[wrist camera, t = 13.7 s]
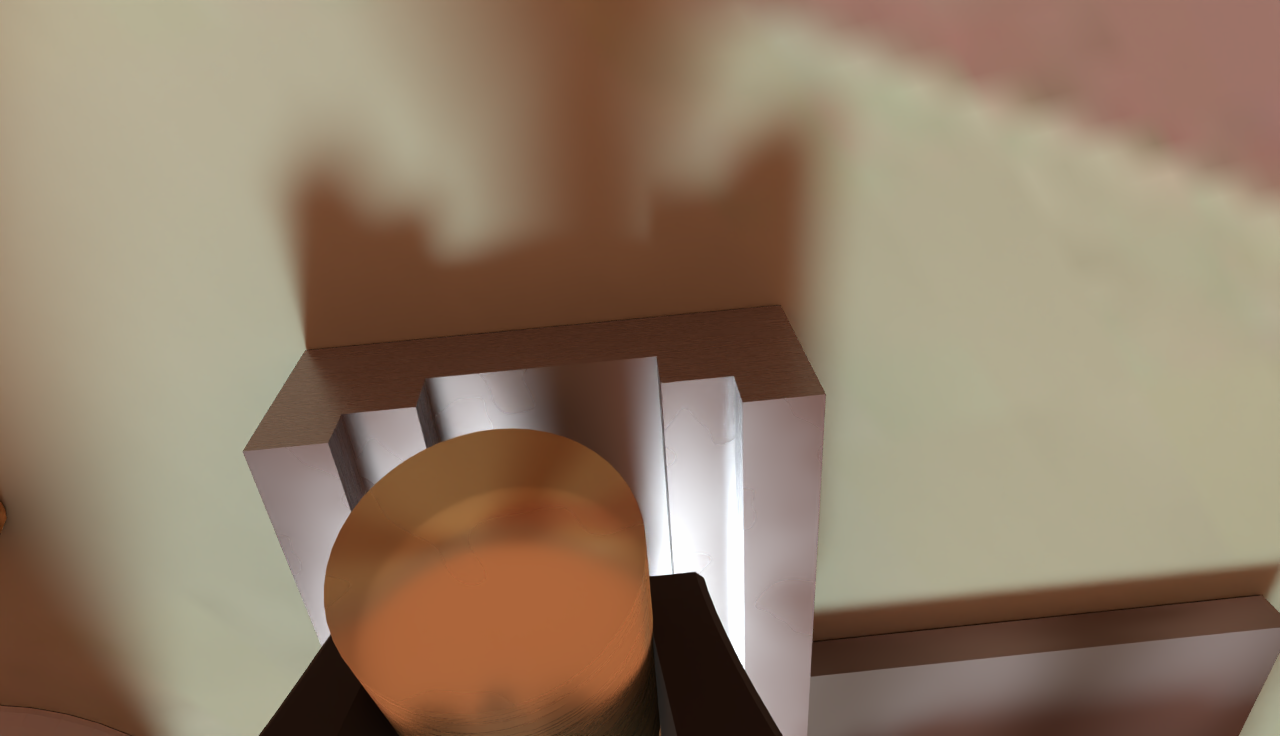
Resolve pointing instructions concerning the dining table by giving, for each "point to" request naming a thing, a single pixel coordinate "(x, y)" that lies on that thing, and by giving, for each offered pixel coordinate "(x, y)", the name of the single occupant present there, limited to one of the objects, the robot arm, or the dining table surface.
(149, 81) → the dining table surface
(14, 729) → the glass holder
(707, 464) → the v block
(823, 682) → the bridge block
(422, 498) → the axle
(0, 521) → the ice cream cone
